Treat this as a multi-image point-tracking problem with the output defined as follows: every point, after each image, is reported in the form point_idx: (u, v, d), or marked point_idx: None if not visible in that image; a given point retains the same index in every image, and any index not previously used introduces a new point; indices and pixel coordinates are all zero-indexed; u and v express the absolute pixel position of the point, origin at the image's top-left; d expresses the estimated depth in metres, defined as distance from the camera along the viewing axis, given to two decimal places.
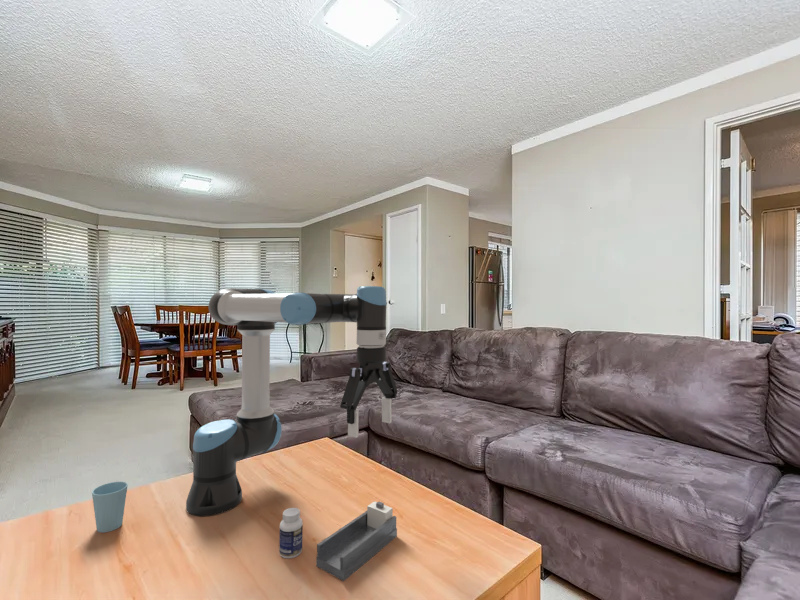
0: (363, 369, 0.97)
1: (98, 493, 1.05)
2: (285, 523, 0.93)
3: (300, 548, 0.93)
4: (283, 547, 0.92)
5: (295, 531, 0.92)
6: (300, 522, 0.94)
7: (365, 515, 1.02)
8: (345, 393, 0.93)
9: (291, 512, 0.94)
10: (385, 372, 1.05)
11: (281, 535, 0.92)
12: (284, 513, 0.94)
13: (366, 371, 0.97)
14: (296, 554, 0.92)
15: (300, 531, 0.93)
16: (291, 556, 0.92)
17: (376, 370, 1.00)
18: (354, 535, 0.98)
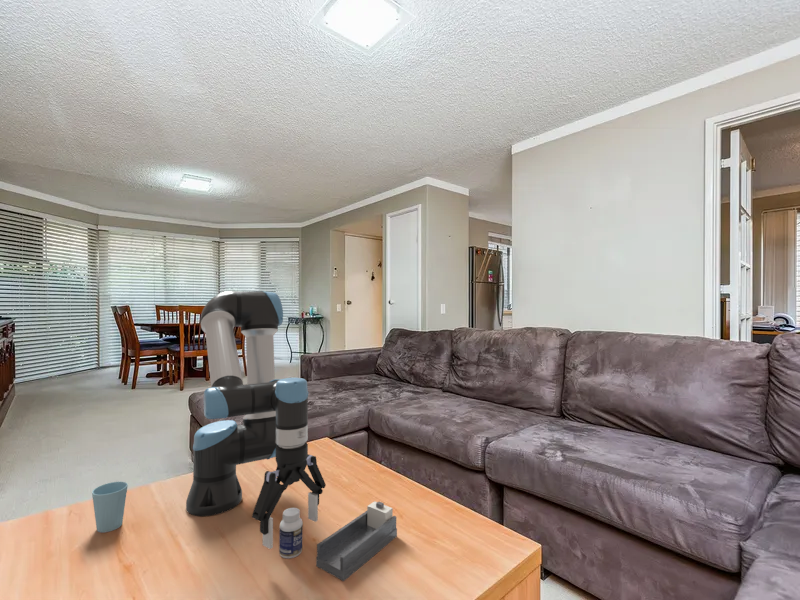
0: (280, 472, 0.91)
1: (98, 493, 1.05)
2: (285, 523, 0.93)
3: (300, 548, 0.93)
4: (283, 547, 0.92)
5: (295, 531, 0.92)
6: (300, 522, 0.94)
7: (365, 515, 1.02)
8: (258, 501, 0.87)
9: (291, 512, 0.94)
10: (310, 466, 0.99)
11: (281, 535, 0.92)
12: (284, 513, 0.94)
13: (283, 473, 0.91)
14: (296, 554, 0.92)
15: (300, 531, 0.93)
16: (291, 556, 0.92)
17: (297, 469, 0.94)
18: (354, 535, 0.98)
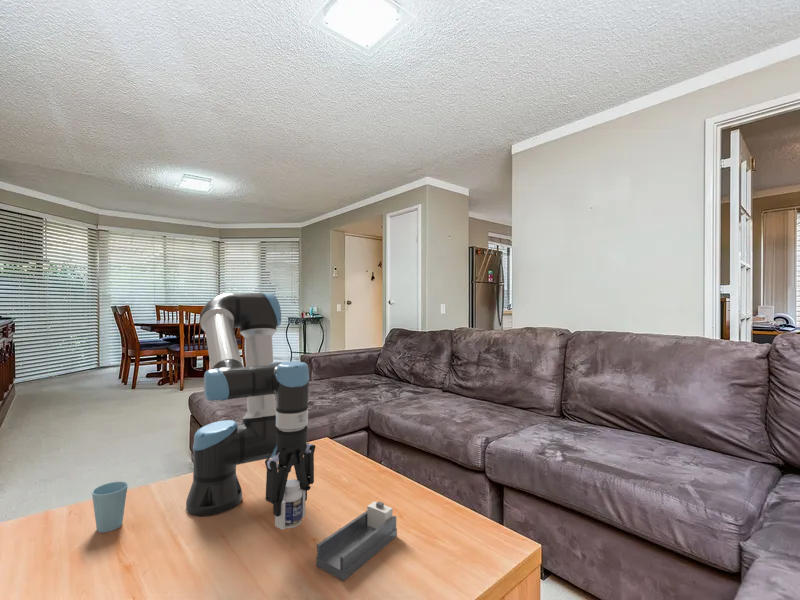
0: (279, 456, 0.91)
1: (98, 493, 1.05)
2: (285, 494, 0.93)
3: (300, 519, 0.94)
4: None
5: (295, 502, 0.93)
6: (300, 493, 0.95)
7: (365, 515, 1.02)
8: (267, 487, 0.90)
9: (291, 483, 0.95)
10: (307, 455, 0.99)
11: None
12: None
13: (284, 456, 0.91)
14: (296, 524, 0.93)
15: (300, 502, 0.94)
16: (291, 526, 0.92)
17: (297, 451, 0.95)
18: (354, 535, 0.98)
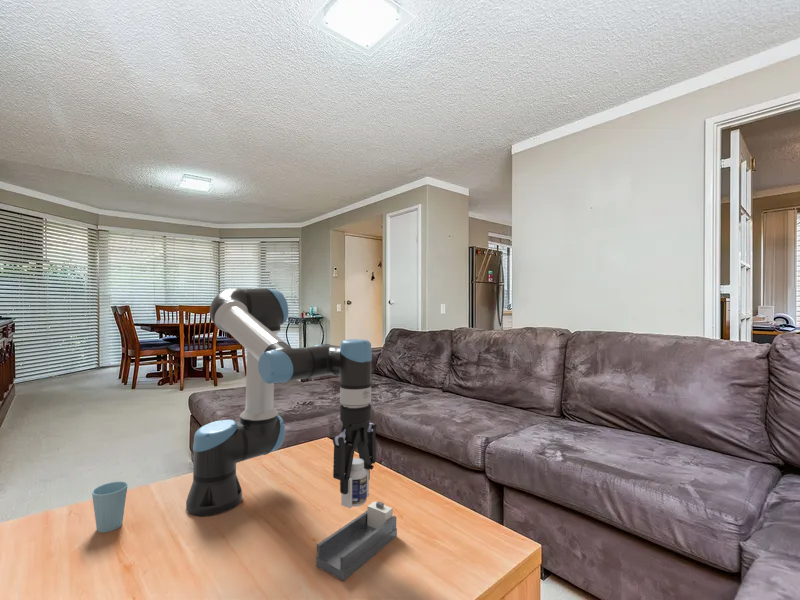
0: (346, 433, 0.90)
1: (98, 493, 1.05)
2: None
3: (365, 497, 0.93)
4: None
5: (361, 479, 0.92)
6: (365, 471, 0.94)
7: (365, 515, 1.02)
8: (334, 464, 0.89)
9: (356, 461, 0.94)
10: (369, 434, 0.98)
11: None
12: None
13: (350, 433, 0.91)
14: (362, 502, 0.92)
15: (365, 480, 0.93)
16: (358, 504, 0.91)
17: (361, 428, 0.94)
18: (354, 535, 0.98)
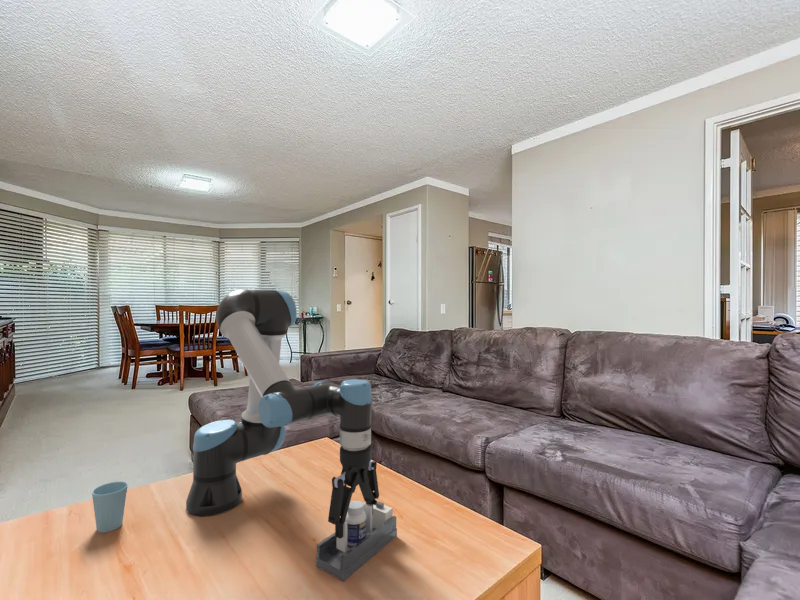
0: (346, 475, 0.90)
1: (98, 493, 1.05)
2: (350, 516, 0.92)
3: None
4: (349, 540, 0.91)
5: (361, 524, 0.92)
6: (364, 515, 0.94)
7: None
8: (331, 507, 0.88)
9: (355, 505, 0.94)
10: (369, 472, 0.98)
11: None
12: None
13: (349, 476, 0.91)
14: None
15: (365, 524, 0.93)
16: None
17: (361, 470, 0.94)
18: None
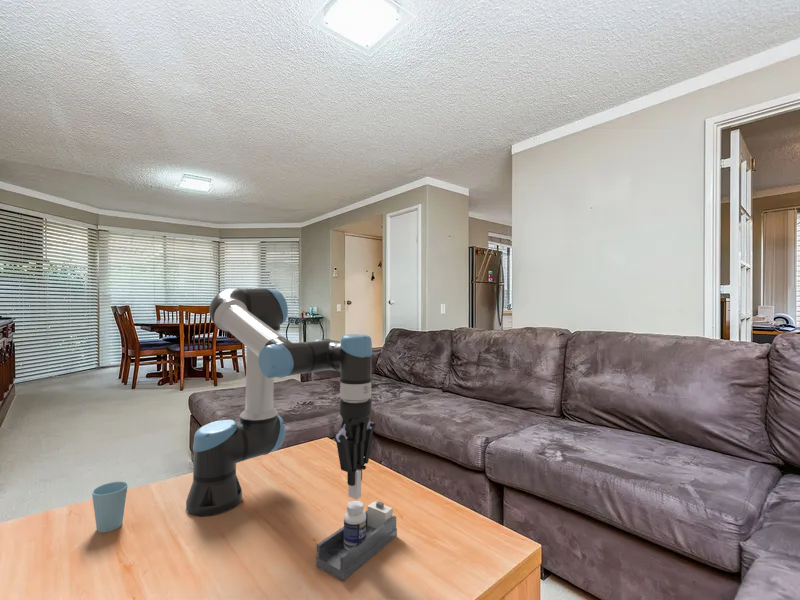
0: (346, 429, 0.90)
1: (98, 493, 1.05)
2: (350, 516, 0.92)
3: None
4: (349, 540, 0.91)
5: (361, 524, 0.92)
6: (364, 515, 0.94)
7: None
8: (340, 458, 0.91)
9: (355, 505, 0.94)
10: (366, 432, 0.97)
11: (346, 528, 0.92)
12: (348, 506, 0.93)
13: (350, 427, 0.91)
14: None
15: (365, 524, 0.93)
16: None
17: (361, 423, 0.94)
18: None
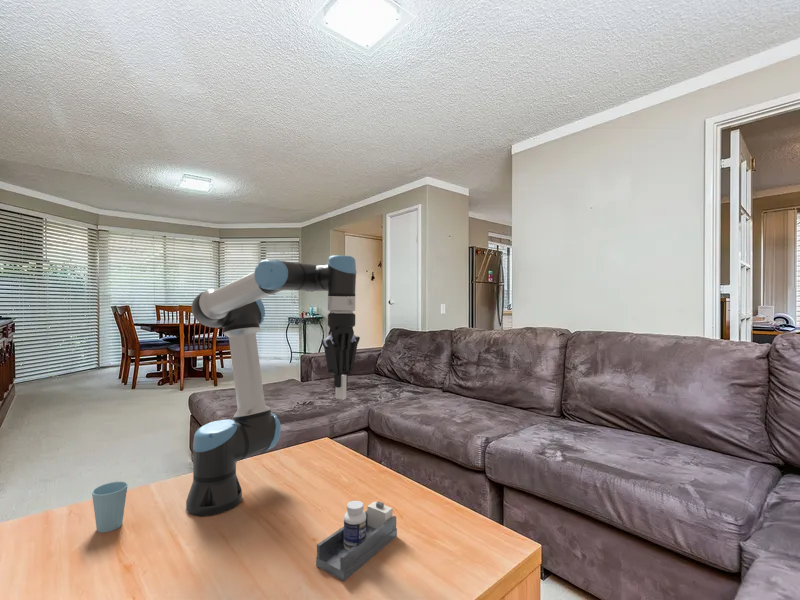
0: (332, 335, 1.03)
1: (98, 493, 1.05)
2: (350, 516, 0.92)
3: None
4: (349, 540, 0.91)
5: (361, 524, 0.92)
6: (364, 515, 0.94)
7: None
8: (327, 362, 1.04)
9: (355, 505, 0.94)
10: (351, 344, 1.10)
11: (346, 528, 0.92)
12: (348, 506, 0.93)
13: (336, 335, 1.04)
14: None
15: (365, 524, 0.93)
16: None
17: (347, 333, 1.07)
18: None
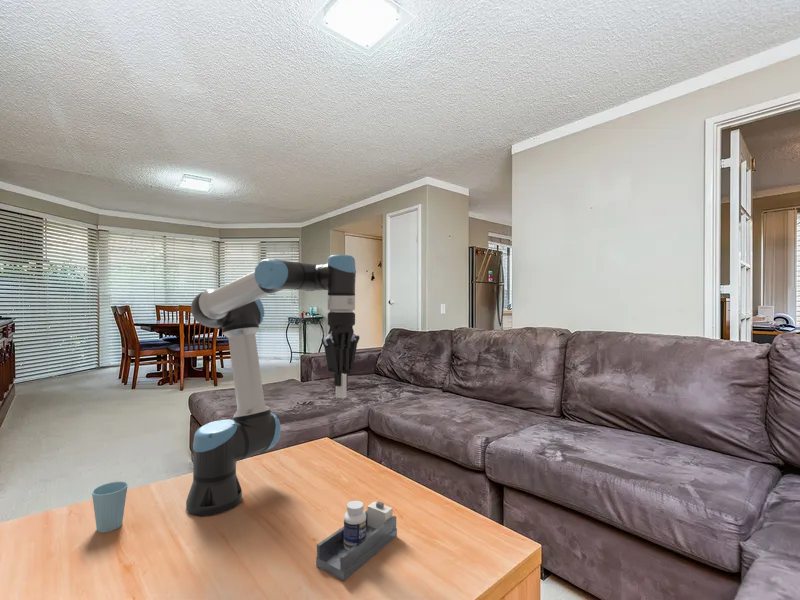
0: (332, 334, 1.04)
1: (98, 493, 1.05)
2: (350, 516, 0.92)
3: None
4: (349, 540, 0.91)
5: (361, 524, 0.92)
6: (364, 515, 0.94)
7: None
8: (327, 361, 1.04)
9: (355, 504, 0.94)
10: (351, 343, 1.11)
11: (346, 528, 0.92)
12: (349, 506, 0.93)
13: (336, 334, 1.04)
14: None
15: (365, 524, 0.93)
16: None
17: (346, 332, 1.07)
18: None
